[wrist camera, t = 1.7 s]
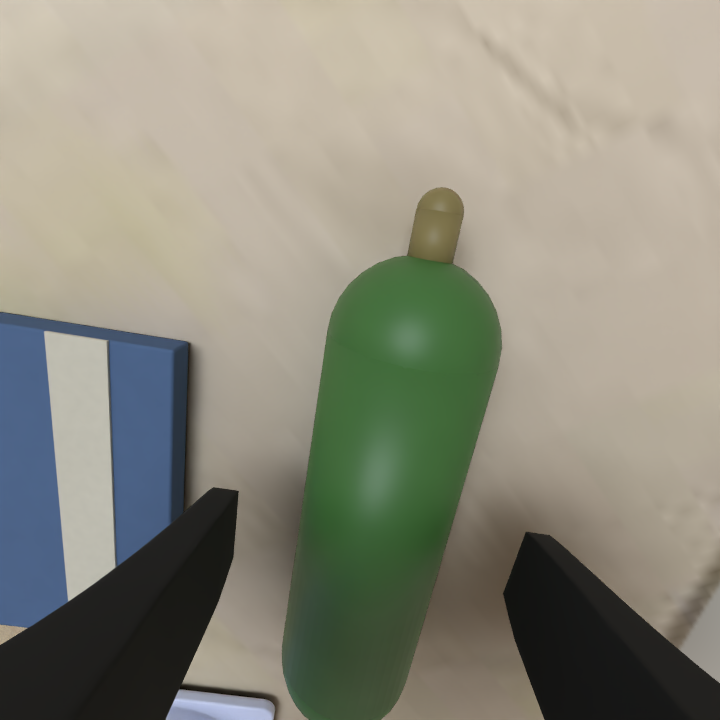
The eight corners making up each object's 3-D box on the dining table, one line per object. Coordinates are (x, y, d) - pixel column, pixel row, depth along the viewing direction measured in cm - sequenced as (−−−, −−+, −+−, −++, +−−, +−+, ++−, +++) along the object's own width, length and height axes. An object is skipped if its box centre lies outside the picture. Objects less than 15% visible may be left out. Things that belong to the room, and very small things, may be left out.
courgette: (391, 636, 15) (402, 776, 11) (288, 623, 14) (261, 761, 11) (503, 211, 10) (591, 195, 6) (352, 183, 10) (347, 149, 6)
